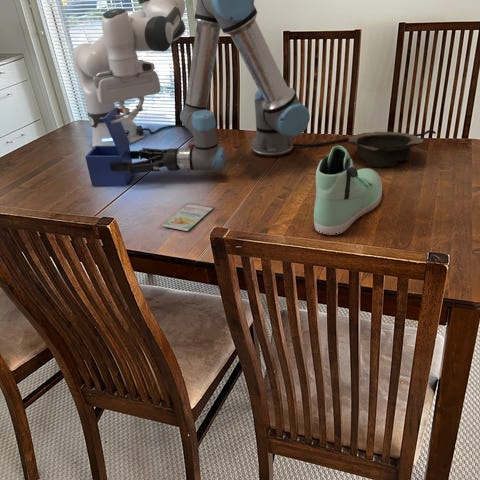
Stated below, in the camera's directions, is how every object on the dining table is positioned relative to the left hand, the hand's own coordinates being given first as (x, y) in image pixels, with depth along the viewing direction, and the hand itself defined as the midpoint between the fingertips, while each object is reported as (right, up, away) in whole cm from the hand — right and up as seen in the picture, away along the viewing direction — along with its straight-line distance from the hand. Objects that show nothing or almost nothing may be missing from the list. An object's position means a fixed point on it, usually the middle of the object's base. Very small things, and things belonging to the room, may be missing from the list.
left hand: (133, 112), depth 154 cm
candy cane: (+15, -7, +33) cm, 36 cm away
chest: (-10, -20, +14) cm, 26 cm away
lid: (-7, -5, +4) cm, 9 cm away
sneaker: (+66, -32, -15) cm, 75 cm away
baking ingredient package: (+19, -35, -13) cm, 42 cm away
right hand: (-8, -14, +10) cm, 19 cm away
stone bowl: (+84, -12, +14) cm, 87 cm away
